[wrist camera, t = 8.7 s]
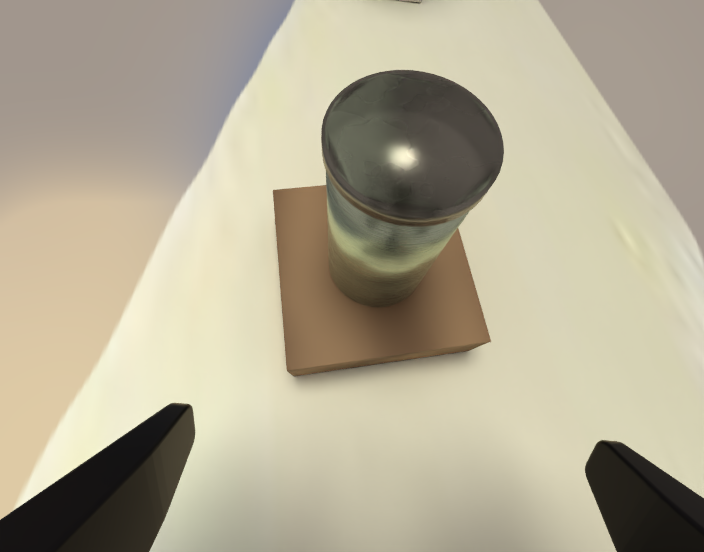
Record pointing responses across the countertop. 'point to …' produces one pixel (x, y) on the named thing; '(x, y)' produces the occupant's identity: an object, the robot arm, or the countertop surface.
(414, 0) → the syrup box
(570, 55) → the countertop surface
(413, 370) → the countertop surface
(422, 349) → the walnut block
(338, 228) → the spice tin
